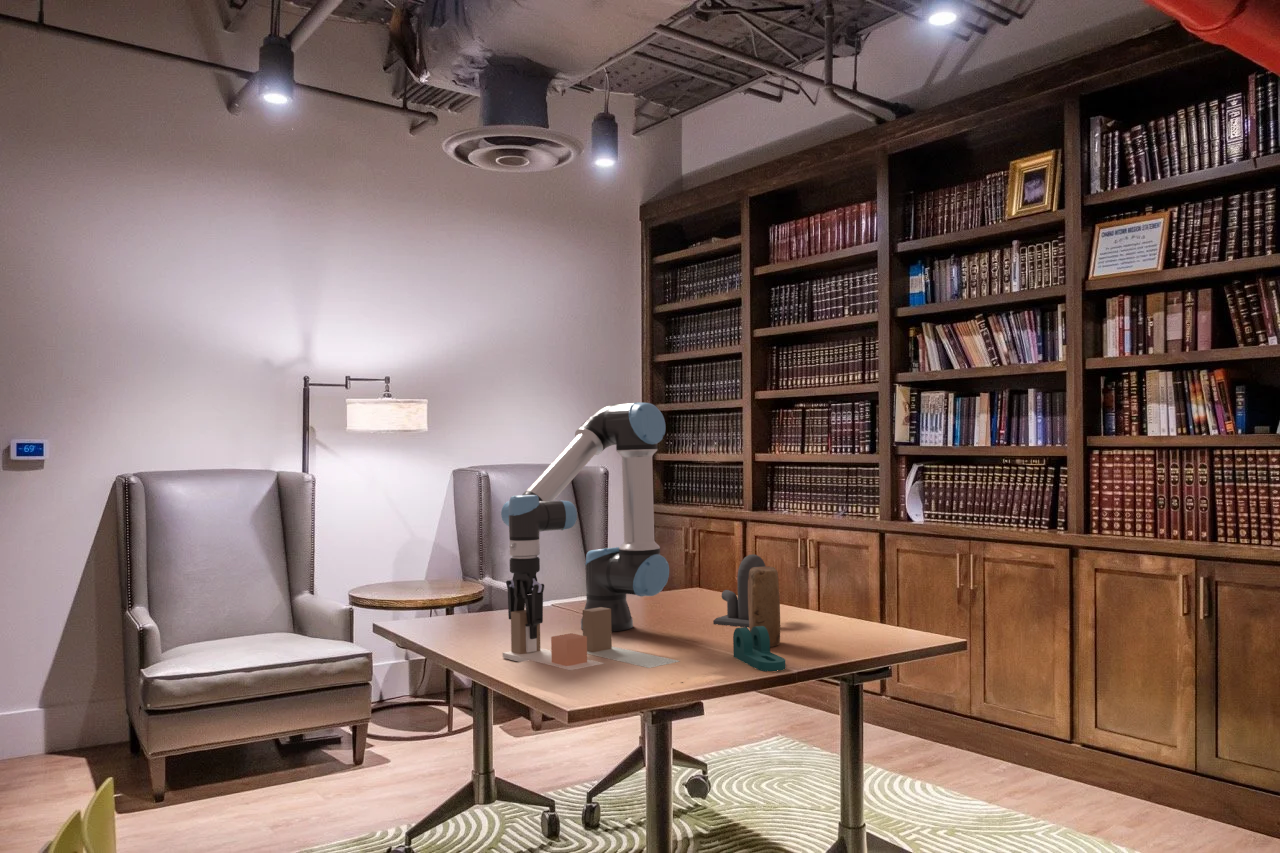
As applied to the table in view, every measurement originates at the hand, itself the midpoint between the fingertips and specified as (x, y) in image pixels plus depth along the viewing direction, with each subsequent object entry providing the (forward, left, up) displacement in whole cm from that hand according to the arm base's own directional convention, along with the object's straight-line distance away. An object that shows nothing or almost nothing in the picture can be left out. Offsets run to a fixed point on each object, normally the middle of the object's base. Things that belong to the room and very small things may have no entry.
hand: (525, 650), depth 241 cm
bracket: (+47, +35, -2) cm, 59 cm away
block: (+32, +53, -2) cm, 62 cm away
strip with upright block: (+22, +14, -2) cm, 26 cm away
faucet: (+8, +75, -2) cm, 76 cm away
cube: (+18, 0, 0) cm, 18 cm away
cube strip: (+11, 0, -2) cm, 11 cm away
